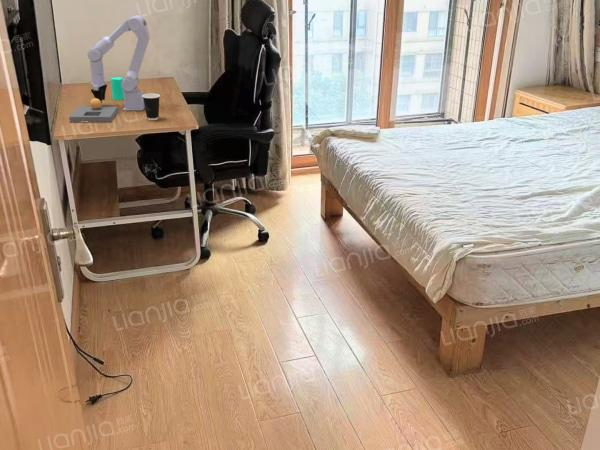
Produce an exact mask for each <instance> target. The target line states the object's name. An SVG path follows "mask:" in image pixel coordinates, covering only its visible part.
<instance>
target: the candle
mask: <svg viewBox="0 0 600 450" xmlns="http://www.w3.org/2000/svg"><path fill="white" fill-rule="evenodd" d="M115 76H116V77H111V78H110V86H111V94H112V95H111V96H112V97H111V98H112V100H114V101H124V94H123V88H122V85H121V84H122V81H123V80H124V79H123V77H118V76H117V75H115Z"/></svg>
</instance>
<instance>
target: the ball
mask: <svg viewBox="0 0 600 450" xmlns="http://www.w3.org/2000/svg"><path fill="white" fill-rule="evenodd" d="M89 104H90V107H92V108H93V109H98V108H100V107H102V104H101V101H100V100H99V99H97V98H95V97H94V98H92V99H91V100H90V102H89Z"/></svg>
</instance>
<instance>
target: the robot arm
mask: <svg viewBox="0 0 600 450" xmlns="http://www.w3.org/2000/svg"><path fill="white" fill-rule="evenodd" d="M130 31H132V33H133V34H135V36H136V38H137V41H136V45H135V48H134V51H133V55H132V58H131V60H130V64H129V67H128V70H127V73H126V75H125V77H124V79H123V81H122V84H121V85H122V88H123V94H124V99H123V102H124V107H123V108H122V111H144V109H145V105H144V100H143V97H142V95H144V94H145V93H144V91H143V90H139V88H138V85H139V76H140V70H141V67H142V63H143V62H144V61H143V60H144V58H145V54H146V51H147V48H148V45H149V41H150V39H151V38H150V32H149V28H148V22H147V20H146V19H145V17H144V16H142V15H141V14H134V15H132V16H131V17H129V18H128V19H127V20H125V21H124V22H122V23H121V24H120V25H119V26H118V27H116V29H114V31H112V33H111V34H110V35H109V36H108V35H107V36H106V35H105V36H101V37H100V38H99V41H98V42H97V43H95V44H94V45H93V46H92V48H90V49H88V52H87V58H88V59H89V66H90V74H91V82H90V83H89V85H91V86H92V87H93V88H91V89H90V92H91V93H92V95H93V97H94V98H97V99H99V100H100V101H101V105H102V103H103V101H105V100H106V91H107V88H108V84H106V80H105V72H104V63H103V57H104V56H105V55H106V54H107V53H108V52H109V51H110V50H111V49H112V48H114V46H115V41H117V39H118V40H119V38H120V37H121V36H122V35H123V34H124V33H125V32H130Z"/></svg>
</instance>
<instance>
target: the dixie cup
mask: <svg viewBox="0 0 600 450" xmlns="http://www.w3.org/2000/svg"><path fill="white" fill-rule="evenodd" d="M160 96H161V95H160V94H158V93H153V92H152V93H151V92H150V93H144V95H142V97H143V100H144V105H145V107H144V109H145V113H146V117H147V121H157V120H159V117H160Z"/></svg>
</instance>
